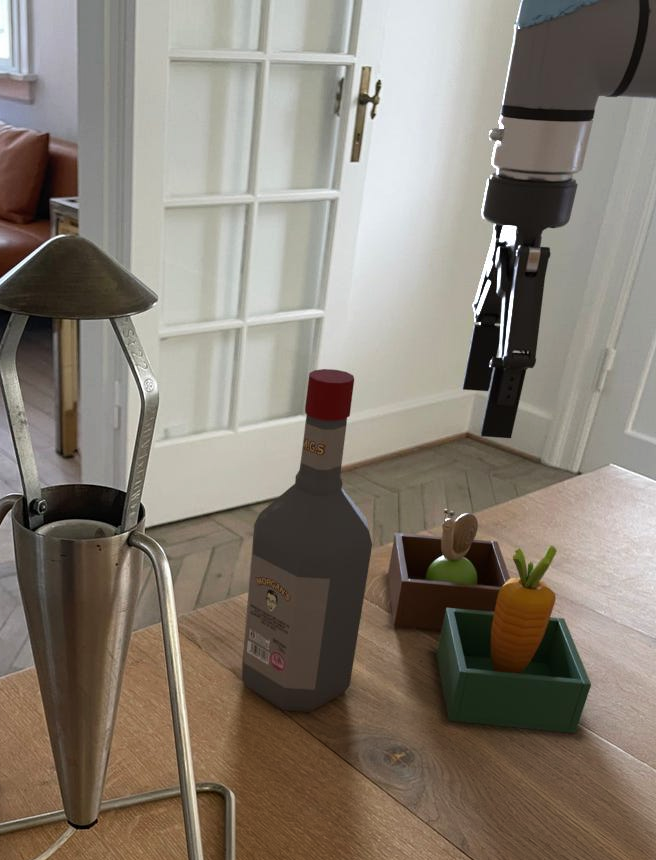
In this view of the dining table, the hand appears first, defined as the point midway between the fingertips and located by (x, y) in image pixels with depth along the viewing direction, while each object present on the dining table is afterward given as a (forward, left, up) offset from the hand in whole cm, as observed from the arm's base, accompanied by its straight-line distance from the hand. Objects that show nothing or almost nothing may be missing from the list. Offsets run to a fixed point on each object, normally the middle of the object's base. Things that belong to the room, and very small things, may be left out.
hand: (484, 411), depth 95 cm
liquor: (+16, +18, -22) cm, 33 cm away
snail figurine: (0, 0, -22) cm, 22 cm away
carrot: (-4, +16, -22) cm, 27 cm away
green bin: (-4, +16, -22) cm, 28 cm away
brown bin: (0, 0, -22) cm, 22 cm away
